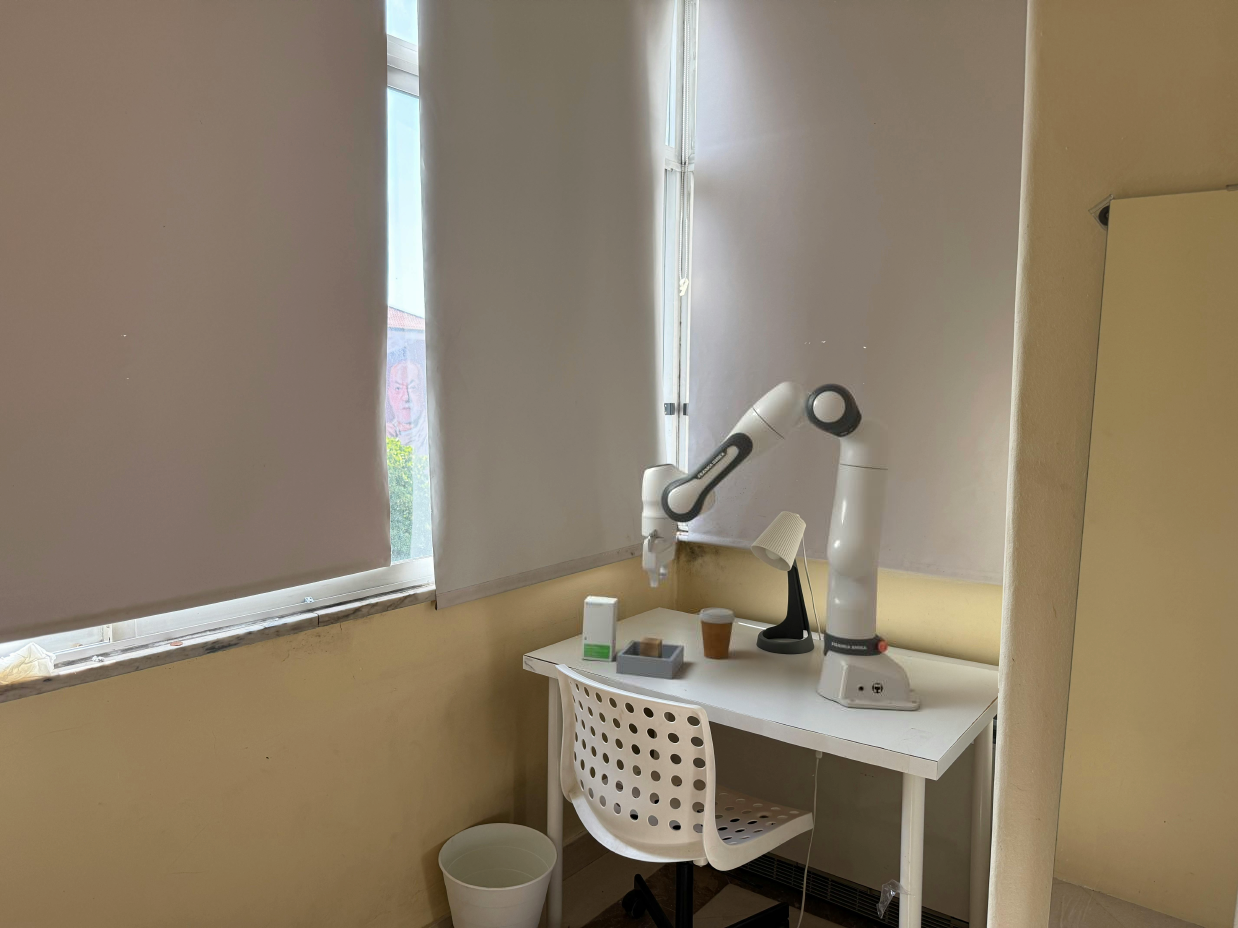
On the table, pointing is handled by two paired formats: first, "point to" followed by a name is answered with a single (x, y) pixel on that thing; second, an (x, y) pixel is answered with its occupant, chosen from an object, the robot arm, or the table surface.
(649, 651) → the walnut block
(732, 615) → the disposable coffee cup
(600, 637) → the skincare box
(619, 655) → the tray
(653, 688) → the table surface
